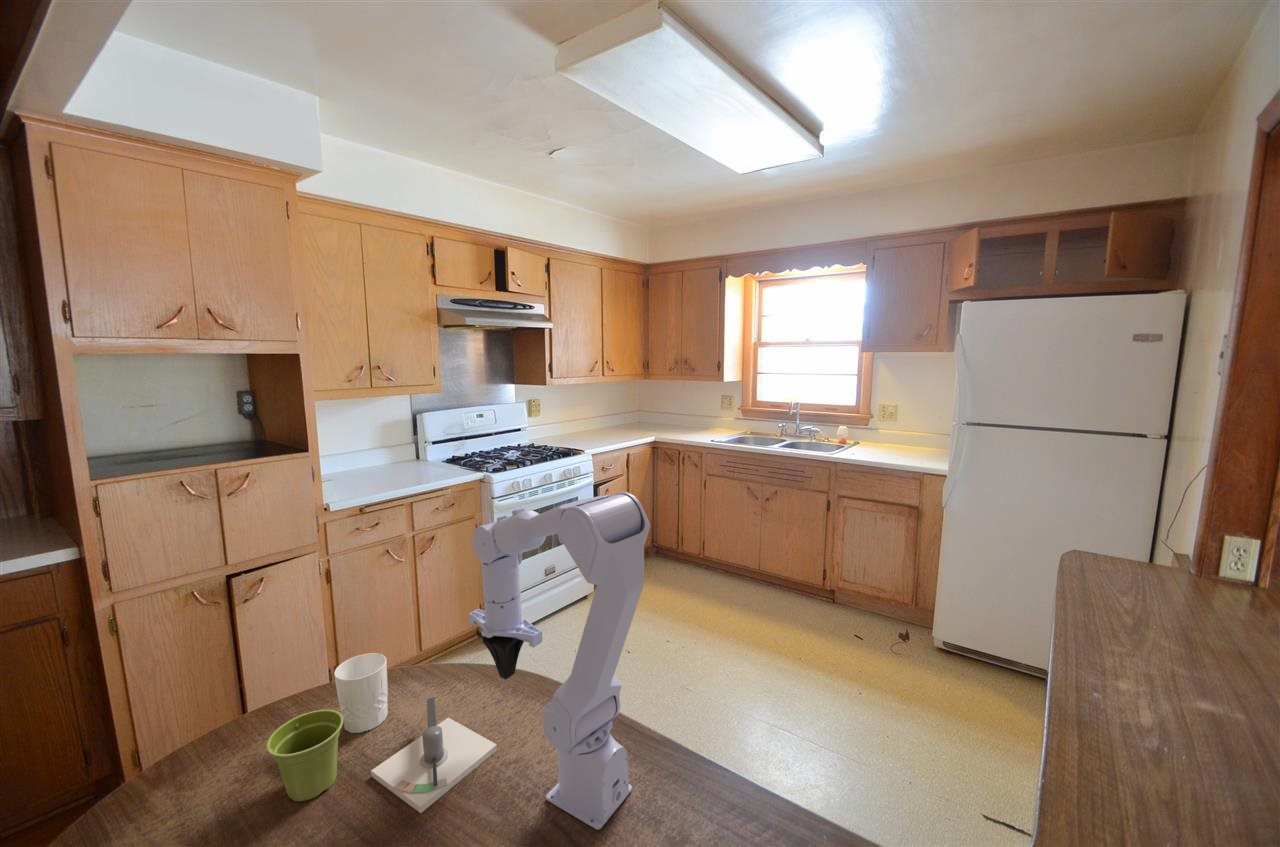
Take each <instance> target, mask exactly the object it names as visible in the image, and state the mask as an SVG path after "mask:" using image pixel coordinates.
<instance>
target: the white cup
mask: <svg viewBox="0 0 1280 847" xmlns="http://www.w3.org/2000/svg"><path fill="white" fill-rule="evenodd" d="M387 668H388V664H387V657H386V656H385V655H384V654H381V653H377V652H376V653H375V652H369V653H363V654H359V655H355V656H353V657H351V658H350V657H349V658H347V659H346V660H345V661H343V662H342V663H339V665H338V666H337V667H336V668H335V670H334V672H333V676H334V680H335V681H334V683H335V689H336V695H337V699H338V705H339V709H340V714H341V715H342V716H343V728H344V731H346V730H347V732H348V733H350V734H360V733H365V732H369V731H371V730H372V729H375V728H376V727H379V726H380V725H381V724H382V723H383V722H384V721H386V718H387V717H388V713H389V710H388V695H389V693H388V686H389V685H388V669H387ZM368 730H369V731H368ZM364 731H365V732H364Z"/></svg>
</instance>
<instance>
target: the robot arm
mask: <svg viewBox="0 0 1280 847" xmlns="http://www.w3.org/2000/svg"><path fill="white" fill-rule="evenodd" d="M511 514H512V515H510V516H507V515H505V514H504V515H502V516H499V517H497V518H496V521H494V522H491V523H487V524H483V525H482V524H481V525H480V524H478V526H477V527H476V528H475V529H474V530H473V532H472V534H471V545H472V550H473V552H474V554H475V556H476V558H477V559H478V561H479V562H480V566H481V579H482V593H483V594H482V595H483V606H484V609H480V608H477V609H475V610H473V611H471V612H469V613H468V618H469V619H468V620H469V625H471V626H476V625H478V626H479V627H480V628H481V629H482V630H481V632H480V633H481V636H482V637H483V638H482V643H483V644H484V646H485V647H486V648H487V649H488V652H489V654H490V655H491V657H492V659H493V661H494V664H495V666H496V670H497V672H498V676H499V677H500V678H502V679H504V680H508V679H509V678H511V677H512V676H513V675H515V673H516V668H517V663H518V659H519V656H520V653H521V649H522V647H523V644H524V643H525V642H526V643H528V645H529V647H531V648H535V647H537V646H538V645H539V644H542V643H543V630H542V629H540V628H537V627H536V626H534V625H533V624H532V623H531V622H530V621H529V620H527V619H526V618H525V617H524V616H523V610H522V593H521V591H522V590H521V577H520V565H521V564H522V562H523V553H526V552H529V551H533V550H536V549H538V548H540V547H541V546H542V545H543V544H544V543H545V541H546V539H547V537H550V536H553V535H554V536H555V535H557V538H558V542H559V543H560V544H563V546H564V547H565V548H566V551H567V552H568V554H569V555H570V557H571V559H572V561H573V562H574V563H575V565H576V566H577V569H578V570H579V572H580V573H581V575H582V577H583V579H584V580H585V582H586V583H588V584H590V585H591V584H592V585H595V586H596V587H595V591H594V594H593V598H592V601H591V604H590V608H589V611H588V614H587V618H586V622H585V625H584V629H583V632H582V635H581V638H580V642H579V646H578V648H577V652H576V656H575V660H574V662H573V666H572V670H571V672H570V675H569V676H568V677H567V679H565V681H564V682H563V683H562V684H561V685H560V686H559V687H558V689H557V690H555V692H554V693H553V695H552V698H551V701H550V702H549V703H547V704H546V705H545V706H544V707H543V710H542V718H541V721H542V722H541V724H542V728H543V731H544V733H545V737H546V738H547V741H549V743H550V745H552V746H553V747H554V748H555V749H556V750H557V751H556V752H557V766H558V767H557V772H558V783H557V784H555V785H554V787H553V788H551V789H550V791H549V792H548V793H547V794H546V795H545V800H546V801H547V802H549V803H552V804H553V806H556V807H558V808H559V809H560V810H563V811H565V812H566V813H568V814H569V815H571V816H573V817H575V818H576V819H578V820H580V821H581V822H583V823H585V824H586V825H588V826H589V827H591V828H593V829H595V830H601V829H602V828H603V827H604V825H605V824H606V823H607V822H608V821H609V819H610V818H611V817H612V816H613V814H614V813H615V812H616V810H617V809H618V808H619V807H620V805H621V804H622V803H623V802H624V800H625V799H626V798H627V797H628V795H630V793H631V792H632V790H633V786H632V785H631V784H630V783H629V759H628V758H629V757H628V756H629V755H628V751H627V750H626V748H625V747H624V746H623V745H622V744H620V743H618V742H617V741H616V740H615V738H613V736H612V734H611V732H610V731H611V729H613V720H614V719H615V718H616V717H617V716H618V715H619V713H620V709H621V702H620V693H621V689H622V684H621V682H620V681H619V679H618V678H617V676H616V675H615V673H616V669H617V666H618V664H619V660H620V657H621V654H622V652H623V649H624V645H625V644H626V643H625V642H626V640H627V637H628V634H629V632H630V631H629V630H630V628H631V625H632V622H633V619H634V616H635V613H636V610H637V607H638V605H639V604H638V603H639V601H640V598H641V595H642V593H643V588H644V586H645V585H644V584H645V547H644V546H645V544H646V541H647V539H648V534H649V532H650V529H651V523H650V520H649V519H648V517H647V514H646V511H645V510H644V507H643V505H642V503H641V502H640V501H639V499H638V498H637V497H636V496H635V495H634V494H632V493H630V492H627V491H620V492H617V493H615V494H614V495H611V494H604V495H599V496H593V497H588V498H584V499H583V498H582V499H578V500H575V501H571V502H568V503H564V504H560V505H558V506H556V507H554V508H551V509H549V510H547V511H544V512H542V513H539V512H537V511H535V510H532V509H531V510H530V509H529V510H528V509H525V507H520V508H517V509H514V510H512V511H511Z"/></svg>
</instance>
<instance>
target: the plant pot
mask: <svg viewBox="0 0 1280 847" xmlns="http://www.w3.org/2000/svg"><path fill="white" fill-rule="evenodd" d="M343 726H344V724H343V716H342V714H341V712H339V711H337V710H334V709H319V710H314V711H310V712H306V713H303V714H300V715H298V716H296V717H293V718H292V719H290V720H289V721H286V722H285V723H283V724H282V725H280V726H279V727H278V728H277V729H276V730H274V732H273V733H271V735H270V736H269V738H268V740H267V742H266V750H267V753H268V754H269V755H270V756H272V758H273V759H274V761H275V762H276V764H277V767H278V769H279V773H280V775H281V778H282V781H283V784H284V787H285V790H286V793H287V794H286V795H287V796H288V797H289V798H290V799H291V800H292V801H294V802H304V801H308V800H312V799H314V798H317V797H318V796H319V795H321V793H323V792H324V791H325V790H329V789H330V788H331V787H332V786H333V785H334V783H335V781H336V780H337V776H338V774H337V772H338V754H339V752H338V750H339V749H338V748H339V737H340V735H341V734H340V733H341V729H342V728H343Z"/></svg>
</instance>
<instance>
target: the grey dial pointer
mask: <svg viewBox="0 0 1280 847" xmlns="http://www.w3.org/2000/svg"><path fill="white" fill-rule="evenodd" d="M426 713H427V715H426V716H427V717H426V718H427V727H426V729H425V730H423V732H422V735H421V736H422V738H423V750H424V761H425V762H426V763H429V764H431V763H433V785H434V786H437V768H436V762H438V761H439V760H441V759H442V758H443V756H444V748H443V735H442V728H441V727H439V726H437V714H436V699H435V697H431V698H427V699H426Z"/></svg>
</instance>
